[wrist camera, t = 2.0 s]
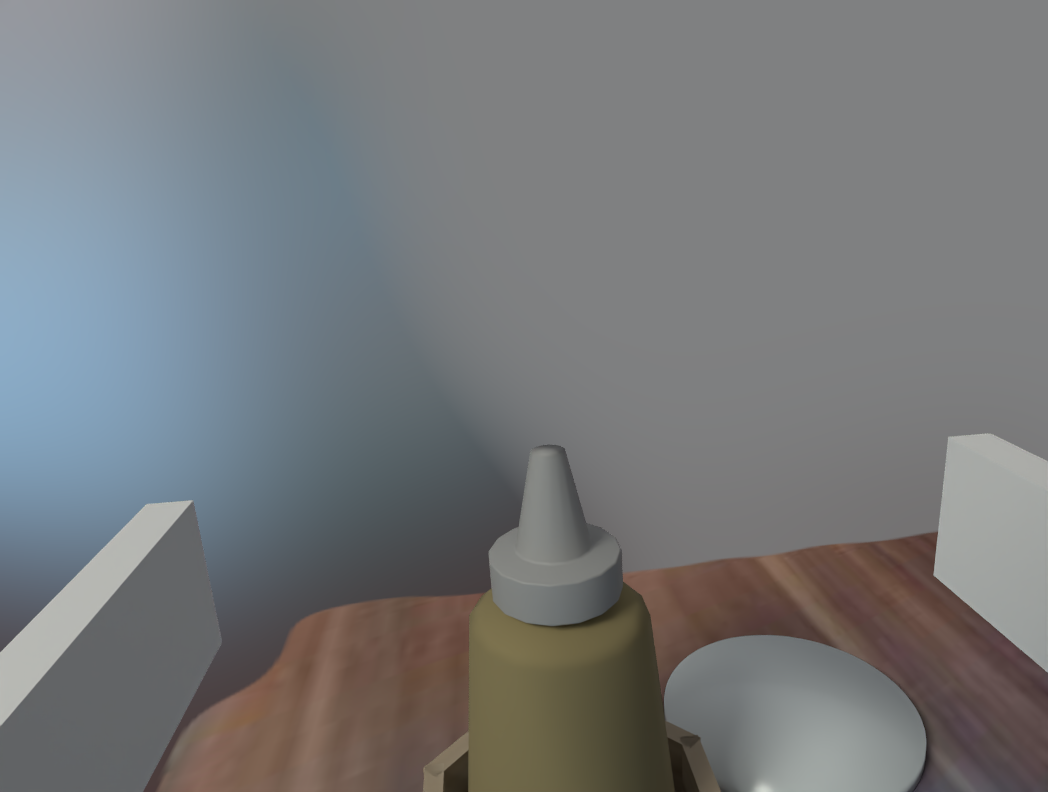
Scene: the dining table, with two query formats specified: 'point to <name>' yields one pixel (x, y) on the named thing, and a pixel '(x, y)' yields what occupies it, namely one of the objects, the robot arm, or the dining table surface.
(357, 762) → the dining table surface
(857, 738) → the ceramic coaster
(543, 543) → the squeeze bottle
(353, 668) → the dining table surface
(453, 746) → the birch collar
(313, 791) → the dining table surface
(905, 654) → the dining table surface
